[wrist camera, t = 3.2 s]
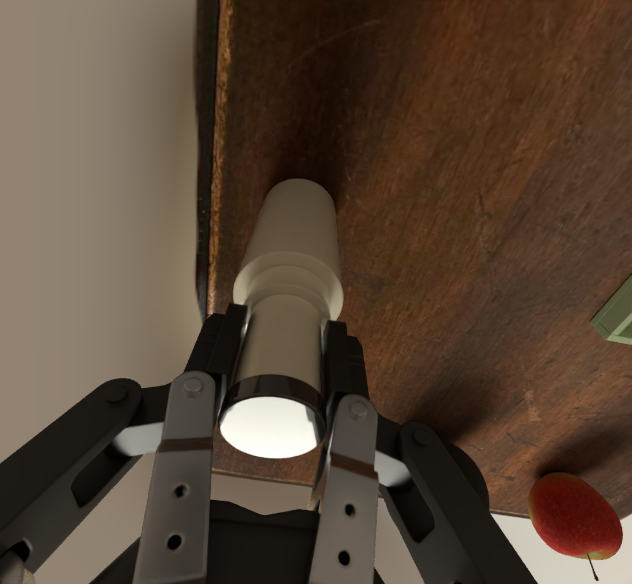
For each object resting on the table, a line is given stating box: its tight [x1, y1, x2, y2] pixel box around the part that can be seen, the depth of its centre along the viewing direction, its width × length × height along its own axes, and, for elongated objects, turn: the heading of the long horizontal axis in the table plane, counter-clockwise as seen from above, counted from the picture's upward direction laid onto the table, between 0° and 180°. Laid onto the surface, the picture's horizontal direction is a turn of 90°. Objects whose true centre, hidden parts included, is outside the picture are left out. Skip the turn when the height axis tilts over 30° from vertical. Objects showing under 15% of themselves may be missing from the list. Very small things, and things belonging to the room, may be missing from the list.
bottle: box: [218, 179, 344, 458], centre depth 17 cm, size 5×5×16 cm
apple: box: [528, 472, 623, 581], centre depth 39 cm, size 8×8×10 cm
